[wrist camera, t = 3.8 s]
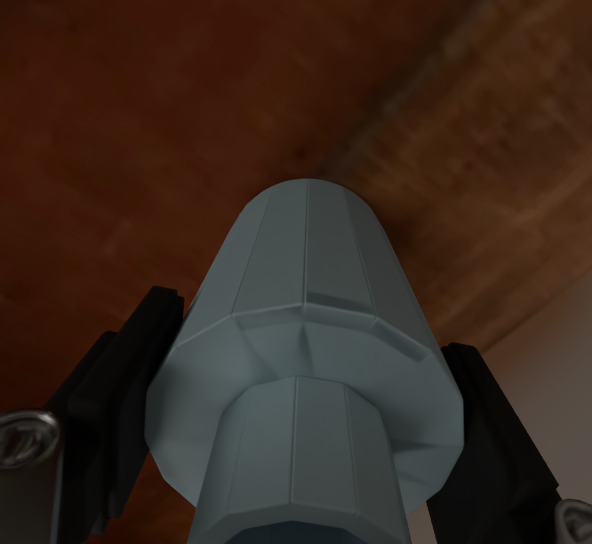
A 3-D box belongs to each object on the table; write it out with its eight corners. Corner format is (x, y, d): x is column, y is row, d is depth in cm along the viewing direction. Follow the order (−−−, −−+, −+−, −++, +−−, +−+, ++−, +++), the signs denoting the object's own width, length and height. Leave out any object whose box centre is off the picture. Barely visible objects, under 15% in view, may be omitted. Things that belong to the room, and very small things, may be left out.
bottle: (241, 162, 15) (70, 373, 4) (406, 197, 16) (619, 469, 5) (220, 307, 18) (85, 653, 7) (361, 333, 18) (433, 702, 8)
